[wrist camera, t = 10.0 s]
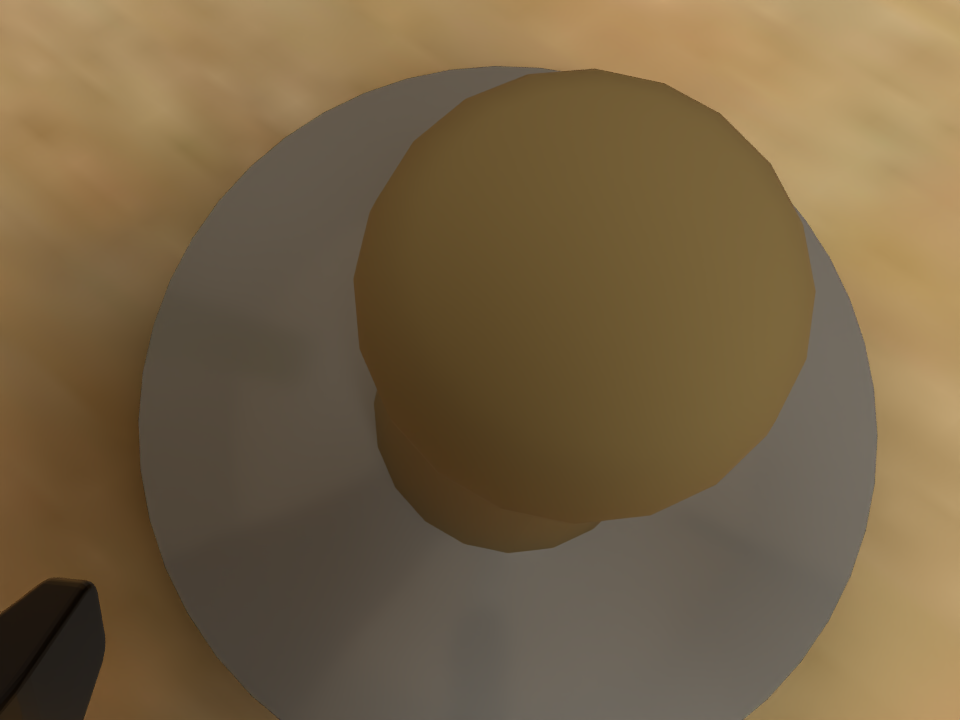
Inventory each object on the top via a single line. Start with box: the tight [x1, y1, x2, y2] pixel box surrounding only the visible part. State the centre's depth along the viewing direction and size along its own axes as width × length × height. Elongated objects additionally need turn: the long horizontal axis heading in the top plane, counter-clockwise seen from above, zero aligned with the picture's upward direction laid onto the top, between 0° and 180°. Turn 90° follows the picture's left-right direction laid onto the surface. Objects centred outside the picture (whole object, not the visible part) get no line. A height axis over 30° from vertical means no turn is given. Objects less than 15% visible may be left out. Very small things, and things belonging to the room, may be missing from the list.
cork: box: [353, 69, 816, 553], centre depth 14 cm, size 6×6×11 cm
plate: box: [139, 66, 877, 720], centre depth 20 cm, size 16×16×1 cm
